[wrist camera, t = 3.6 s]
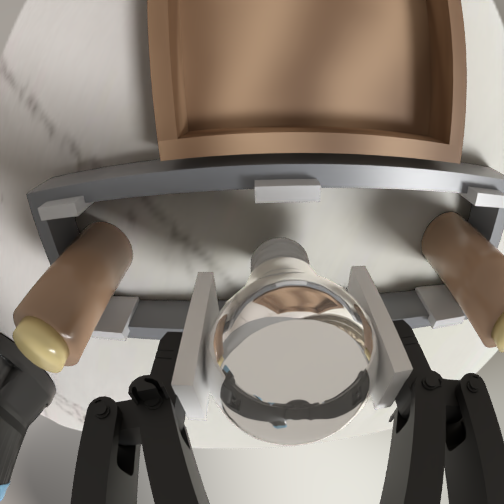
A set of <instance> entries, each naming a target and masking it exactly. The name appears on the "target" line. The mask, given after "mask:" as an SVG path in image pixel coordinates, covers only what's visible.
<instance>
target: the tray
mask: <svg viewBox="0 0 504 504" xmlns="http://www.w3.org/2000/svg"><path fill="white" fill-rule="evenodd" d="M147 16H148V41H149V58H150V72H151V84H152V95H153V105H154V114H155V123H156V132H157V140H158V147H159V155H160V161H166V160H175V159H185V158H196V157H208V156H222V155H239V154H263V153H341V154H365V155H381V156H395V157H407V158H417V159H426V160H435V161H443V162H451V163H458V164H460V162H461V154H462V146H463V137H464V127H465V113H466V89H467V67H466V44H465V31H464V21H463V13H462V6H461V0H147Z"/></svg>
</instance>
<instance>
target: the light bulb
mask: <svg viewBox="0 0 504 504" xmlns="http://www.w3.org/2000/svg"><path fill="white" fill-rule="evenodd" d="M378 369H379V345H378V341H377V337H376V333H375V329H374V325H373V323H372V322H371V320H370V318H369V316H368V315H367V313H366V311H365V310H364V308H363V306H362V305H361V303H360V302H359V301H358V300H356V299H355V298H354V297H353V296H352V295H351V294H350V293H349V292H348V291H347V290H346V289H344V288H343V287H342V286H340V285H338V284H336V283H334V282H332V281H331V280H328V279H326V278H324V277H321V276H318V274H317V273H316V272H315V270H314V269H313V268H312V267H311V266H310V264H309V260H308V256H307V253H306V251H305V250H304V248H303V247H302V246H301V245H300V244H298V243H297V242H295V241H293V240H290V239H287V238H273V239H270V240H267V241H265V242H264V243H262V244H261V245H260V246H259V247H258V248H257V249H256V250H255V251H254V253H253V255H252V258H251V274H250V276H249V278H248V281H247V283H246V286H244V287H243V288H242V289H240V290H239V291H238V292H237V293H236V294H235V295H234V296H232V297H231V298H230V299H229V300H228V301H227V302H226V303H225V305H224V306H223V307H222V309H221V310H220V311H219V313H218V314H217V316H216V318H215V319H214V321H213V323H212V326H211V328H210V331H209V333H208V337H207V340H206V344H205V354H204V371H205V376H206V380H207V384H208V387H209V391H210V394H211V396H212V397H213V399H214V401H215V403H216V405H217V407H218V408H219V409H220V411H221V412H222V413H223V415H224V416H225V417H226V418H227V419H228V420H229V421H230V422H231V423H232V424H233V425H234V426H236V427H237V428H238V429H240V430H241V431H243V432H244V433H246V434H248V435H249V436H251V437H253V438H255V439H258V440H261V441H264V442H267V443H271V444H275V445H283V446H295V445H304V444H310V443H314V442H317V441H320V440H323V439H325V438H328V437H330V436H331V435H333V434H335V433H336V432H338V431H339V430H341V429H343V428H344V427H345V426H347V425H348V424H349V423H350V422H351V421H352V420H353V419H354V418H355V417H356V416H357V414H358V413H359V412H360V411H361V410H362V409H363V407H364V406H365V404H366V402H367V400H368V398H369V397H370V395H371V393H372V391H373V389H374V386H375V382H376V379H377V375H378Z"/></svg>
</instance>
